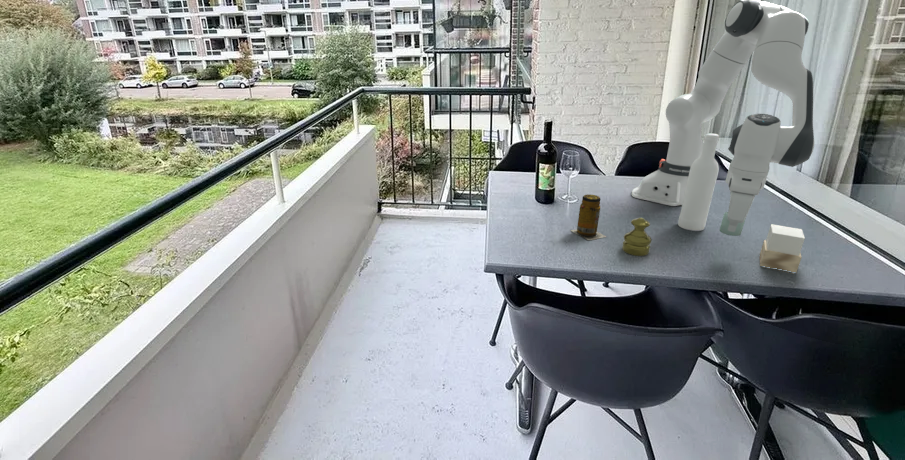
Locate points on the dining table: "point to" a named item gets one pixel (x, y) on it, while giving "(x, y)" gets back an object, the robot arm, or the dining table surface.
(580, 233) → the condiment
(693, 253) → the dining table surface
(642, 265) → the dining table surface
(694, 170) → the bottle
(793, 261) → the tower base
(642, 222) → the yellow tiered cone
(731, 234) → the pale green rounded block
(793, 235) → the tower top
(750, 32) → the robot arm
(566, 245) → the dining table surface
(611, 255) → the dining table surface
